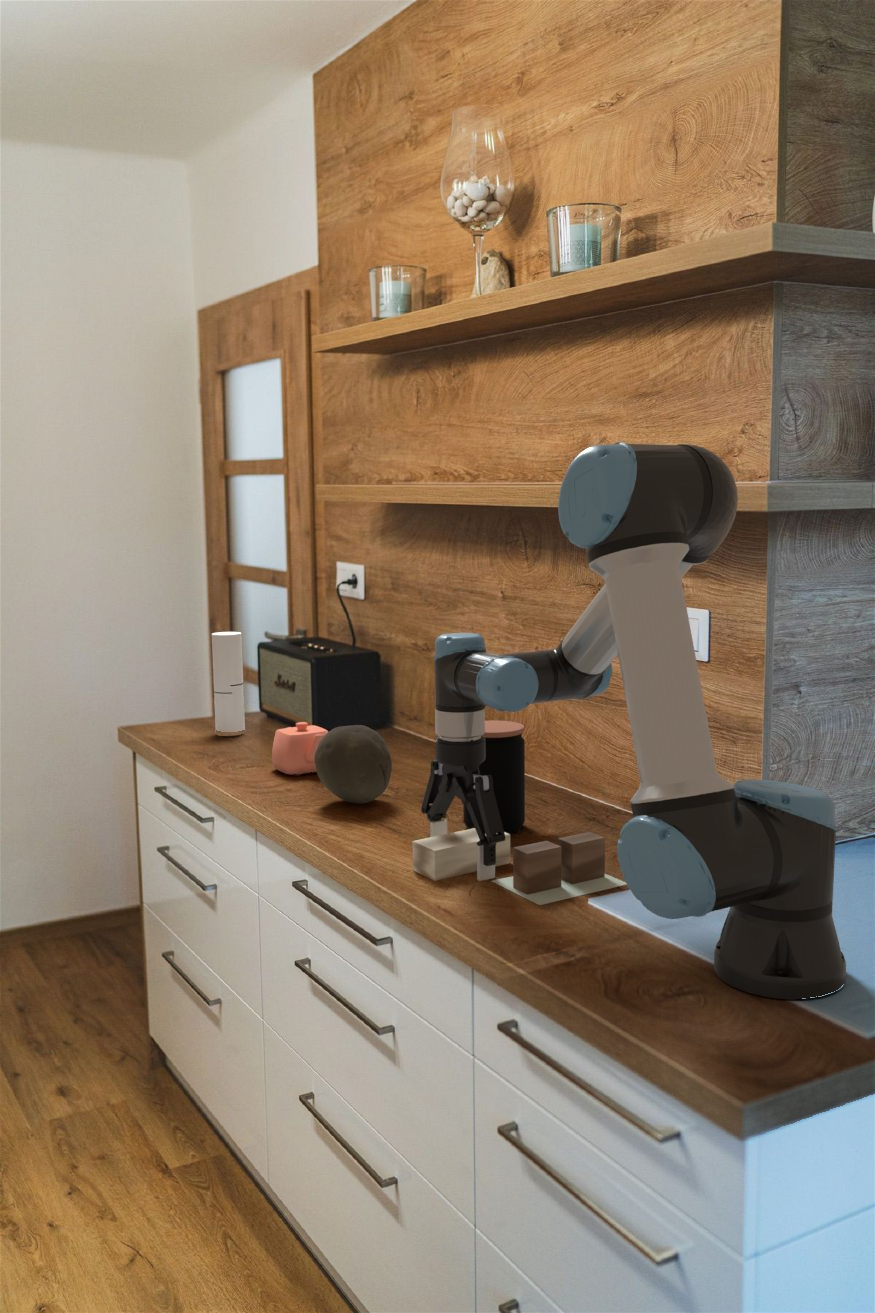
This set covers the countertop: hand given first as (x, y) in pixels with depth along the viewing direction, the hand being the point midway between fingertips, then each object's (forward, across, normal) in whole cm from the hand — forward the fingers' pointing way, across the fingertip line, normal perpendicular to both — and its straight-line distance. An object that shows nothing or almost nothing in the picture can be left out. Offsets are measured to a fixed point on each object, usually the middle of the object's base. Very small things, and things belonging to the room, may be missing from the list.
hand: (461, 873), depth 176 cm
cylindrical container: (+1, +121, -9) cm, 121 cm away
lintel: (0, 0, 0) cm, 0 cm away
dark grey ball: (+1, +46, -5) cm, 46 cm away
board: (0, -14, -8) cm, 16 cm away
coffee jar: (0, +18, -18) cm, 25 cm away
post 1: (-1, -14, -4) cm, 15 cm away
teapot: (+1, +75, -8) cm, 75 cm away
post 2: (-1, -14, -12) cm, 18 cm away
